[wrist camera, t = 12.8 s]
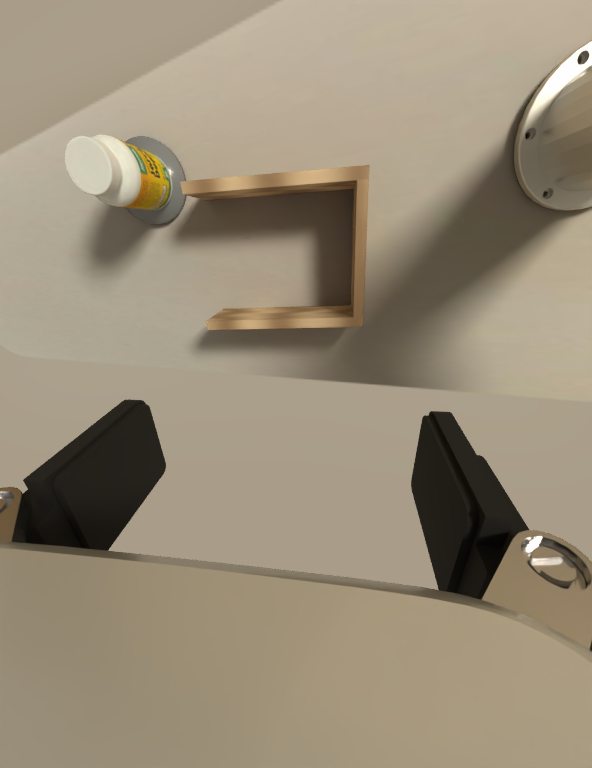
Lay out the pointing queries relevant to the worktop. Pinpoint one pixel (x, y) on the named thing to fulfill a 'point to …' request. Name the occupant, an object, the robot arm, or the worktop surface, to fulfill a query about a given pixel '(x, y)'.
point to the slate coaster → (177, 176)
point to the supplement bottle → (118, 172)
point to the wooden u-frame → (287, 185)
